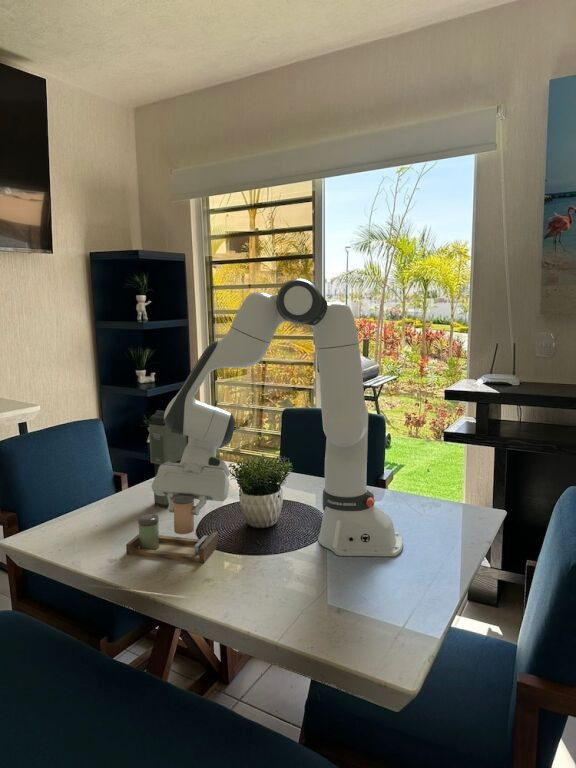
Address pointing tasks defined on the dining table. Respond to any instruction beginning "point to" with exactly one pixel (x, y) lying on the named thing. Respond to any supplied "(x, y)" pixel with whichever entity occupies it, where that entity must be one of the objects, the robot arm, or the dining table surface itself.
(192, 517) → the terracotta jar
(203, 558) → the wooden tray
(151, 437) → the device
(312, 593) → the dining table surface
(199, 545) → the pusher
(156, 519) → the olive jar
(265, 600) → the dining table surface
